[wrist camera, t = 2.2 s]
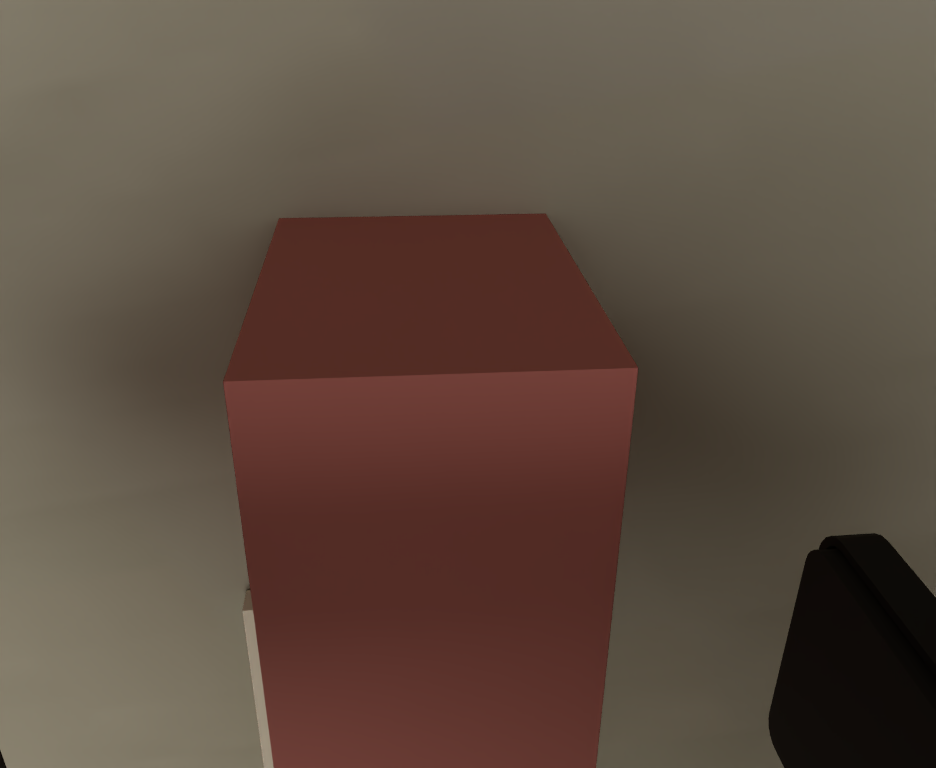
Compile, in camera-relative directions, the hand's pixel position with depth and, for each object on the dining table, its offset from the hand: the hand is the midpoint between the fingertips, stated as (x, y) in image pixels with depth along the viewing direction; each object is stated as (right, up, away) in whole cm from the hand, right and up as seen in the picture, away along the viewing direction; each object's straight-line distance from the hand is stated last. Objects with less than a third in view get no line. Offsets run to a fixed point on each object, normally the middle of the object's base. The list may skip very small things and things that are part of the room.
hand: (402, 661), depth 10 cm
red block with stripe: (0, +3, +6) cm, 7 cm away
